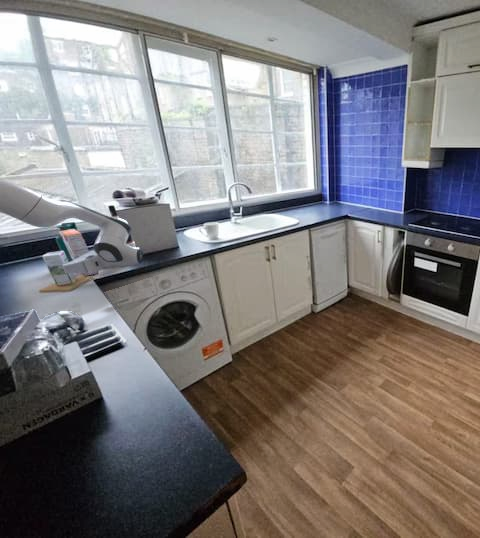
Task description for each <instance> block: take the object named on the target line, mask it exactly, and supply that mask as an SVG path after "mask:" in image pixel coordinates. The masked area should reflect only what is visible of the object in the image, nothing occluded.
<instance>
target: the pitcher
mask: <svg viewBox="0 0 480 538" xmlns="http://www.w3.org/2000/svg"><path fill="white" fill-rule="evenodd" d="M56 229H59V230H60V231H64V230H70V229H75V230H77V231H78V228H77V224H76V222H75V221H72V222H61V224H60V225H56ZM55 242H56V244H57V246H58V248H59V251H64V252H65V254H66V257H67V259H68V261H69V262H71V261H73V260H72V258H71V256H70V254H69V251H68V249H67V247H66V245H65V243H64V241H63V239H62V237H61V235H60V234H59V235H58V236H56V237H55Z"/></svg>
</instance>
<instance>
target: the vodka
mask: <svg viewBox="0 0 480 538" xmlns="http://www.w3.org/2000/svg"><path fill="white" fill-rule="evenodd" d="M107 208H108V210H109V213H110V215H111V216H110V217H112V218H116V219H120V220H122V221H124V222H126V223H127V224H128V225H129V223H128V221H127V220H126V219H123V218H120V216H119V215H118V211H117V209H116V207H115V205H114V204H113V205H111V204H110V205H108V206H107ZM126 244H127V245H129V246H131V247H137V246H136V241H134V237H133V235H132V233H131V234H130V236H129V238H128V239H127V242H126Z"/></svg>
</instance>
